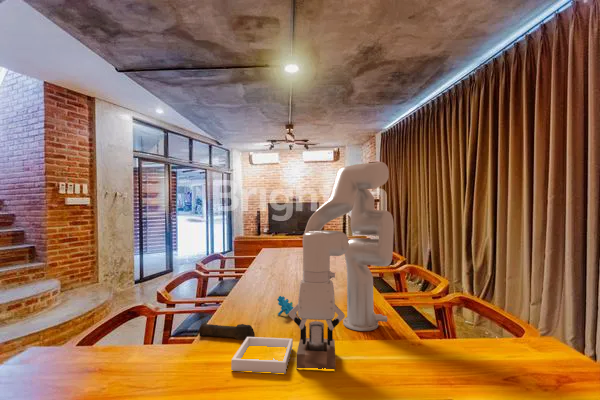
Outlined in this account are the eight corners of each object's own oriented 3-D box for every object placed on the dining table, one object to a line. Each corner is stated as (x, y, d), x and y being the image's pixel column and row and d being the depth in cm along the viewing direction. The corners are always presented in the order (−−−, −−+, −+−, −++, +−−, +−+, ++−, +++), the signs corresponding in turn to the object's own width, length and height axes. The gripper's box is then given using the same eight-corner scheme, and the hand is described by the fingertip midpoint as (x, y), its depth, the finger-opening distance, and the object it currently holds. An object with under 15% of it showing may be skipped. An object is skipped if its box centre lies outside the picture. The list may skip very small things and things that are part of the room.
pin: (324, 358, 79) (323, 321, 79) (323, 365, 75) (323, 327, 75) (309, 357, 79) (309, 321, 80) (308, 364, 75) (308, 326, 76)
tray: (292, 348, 84) (292, 338, 84) (285, 374, 70) (285, 362, 70) (247, 346, 85) (247, 336, 86) (231, 371, 72) (231, 359, 72)
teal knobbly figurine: (291, 317, 106) (276, 296, 110) (281, 327, 107) (265, 306, 111) (301, 312, 116) (286, 293, 120) (291, 321, 117) (277, 302, 121)
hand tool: (197, 337, 92) (198, 323, 93) (204, 332, 96) (204, 319, 96) (250, 344, 88) (251, 329, 88) (255, 339, 92) (256, 324, 92)
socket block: (334, 353, 81) (334, 339, 82) (335, 372, 71) (335, 356, 72) (300, 351, 82) (300, 337, 83) (296, 370, 72) (296, 354, 73)
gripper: (346, 274, 81) (347, 338, 80) (287, 273, 83) (287, 335, 82) (348, 280, 74) (349, 350, 73) (283, 278, 75) (283, 347, 74)
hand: (316, 342), depth 77 cm, fingers open, 6 cm apart
